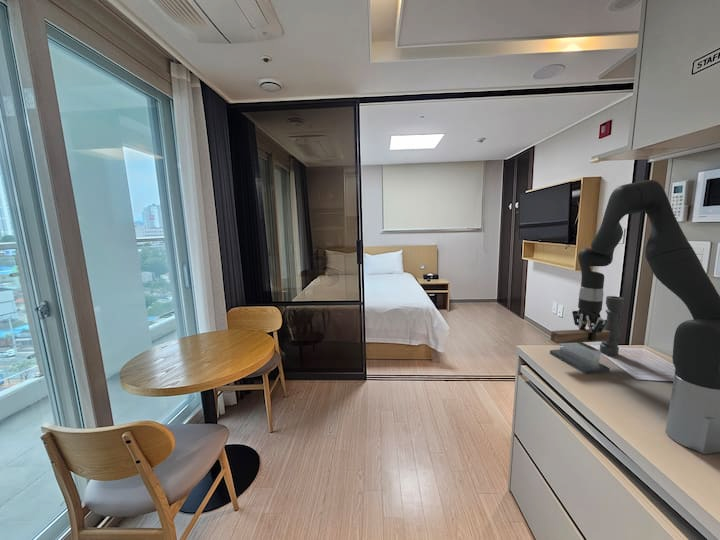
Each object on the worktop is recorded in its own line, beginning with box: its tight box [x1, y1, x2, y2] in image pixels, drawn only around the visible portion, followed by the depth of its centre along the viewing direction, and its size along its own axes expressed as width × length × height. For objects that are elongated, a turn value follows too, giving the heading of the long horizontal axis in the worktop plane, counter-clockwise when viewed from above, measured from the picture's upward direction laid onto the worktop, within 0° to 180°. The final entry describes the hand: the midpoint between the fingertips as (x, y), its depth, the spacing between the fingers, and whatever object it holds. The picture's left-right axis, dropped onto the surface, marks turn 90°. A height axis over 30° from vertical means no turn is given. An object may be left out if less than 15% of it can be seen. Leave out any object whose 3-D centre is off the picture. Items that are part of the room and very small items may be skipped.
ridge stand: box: [549, 342, 611, 375], centre depth 119 cm, size 18×10×8 cm, turn 7°
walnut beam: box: [550, 328, 610, 344], centre depth 118 cm, size 4×22×4 cm, turn 93°
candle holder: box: [599, 295, 625, 357], centre depth 125 cm, size 6×6×25 cm
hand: (586, 338), depth 119 cm, fingers closed on walnut beam, 3 cm apart
